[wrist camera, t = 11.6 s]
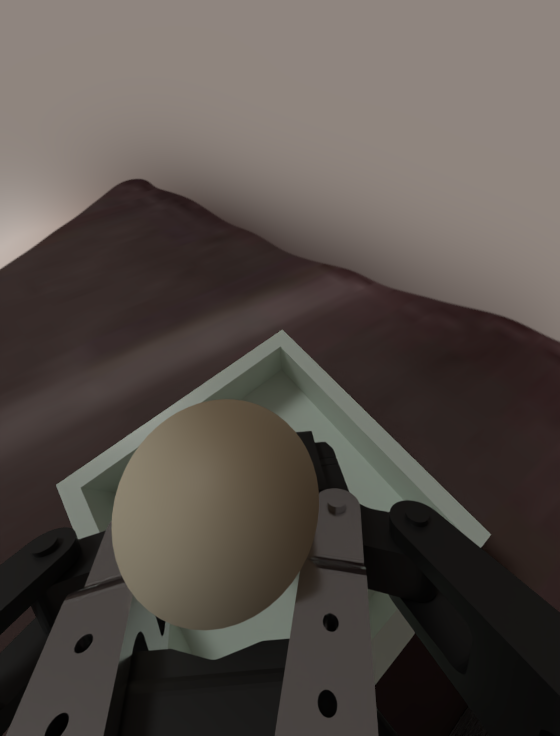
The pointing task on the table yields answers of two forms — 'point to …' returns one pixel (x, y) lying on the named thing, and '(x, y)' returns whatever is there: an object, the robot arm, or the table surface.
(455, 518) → the tray
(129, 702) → the robot arm
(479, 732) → the socket block
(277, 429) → the dowel
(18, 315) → the table surface
